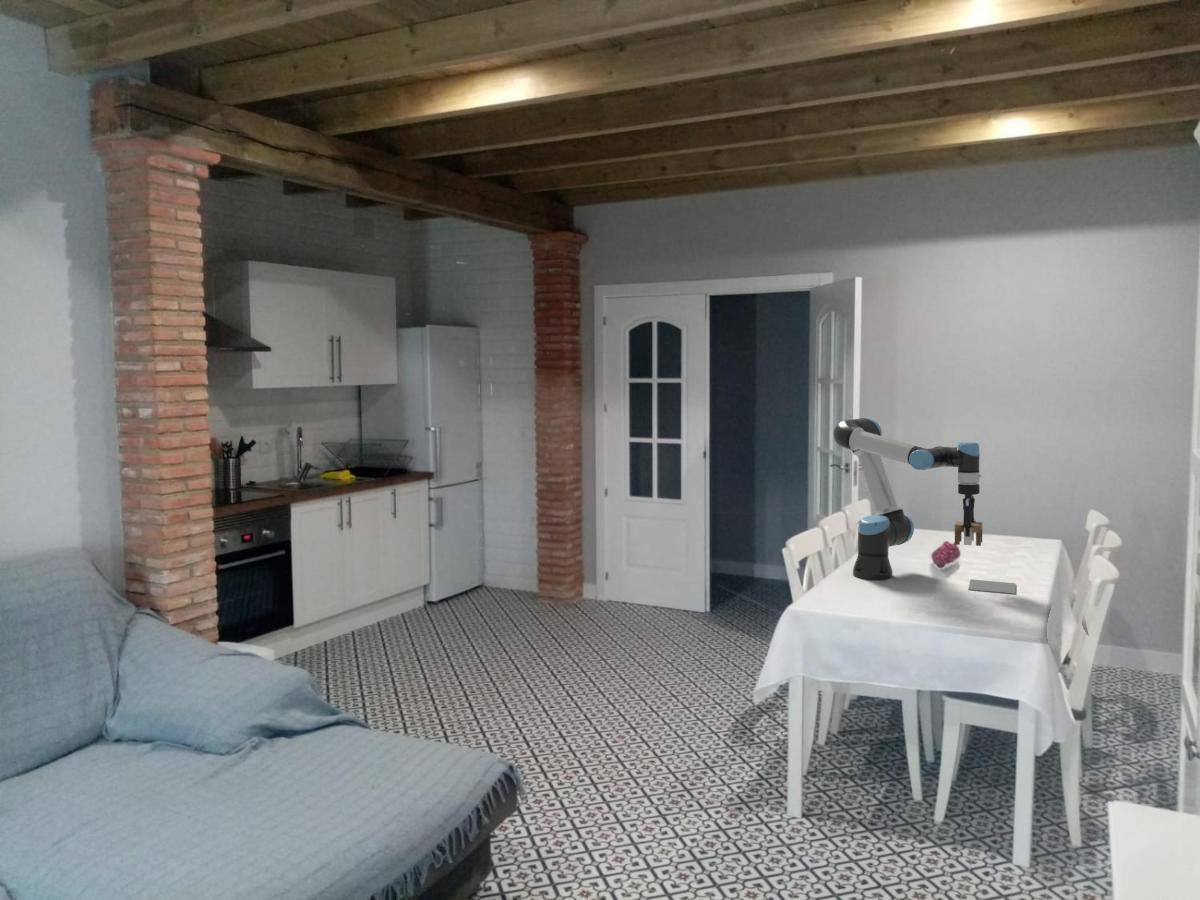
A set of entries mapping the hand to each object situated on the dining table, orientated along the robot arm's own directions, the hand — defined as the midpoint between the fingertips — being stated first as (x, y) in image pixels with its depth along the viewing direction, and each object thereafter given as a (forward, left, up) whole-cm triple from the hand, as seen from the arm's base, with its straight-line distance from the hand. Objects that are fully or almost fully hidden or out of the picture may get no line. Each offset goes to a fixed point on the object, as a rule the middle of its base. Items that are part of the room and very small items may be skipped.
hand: (968, 542), depth 346 cm
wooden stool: (0, 0, 0) cm, 0 cm away
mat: (+9, +1, -17) cm, 19 cm away
